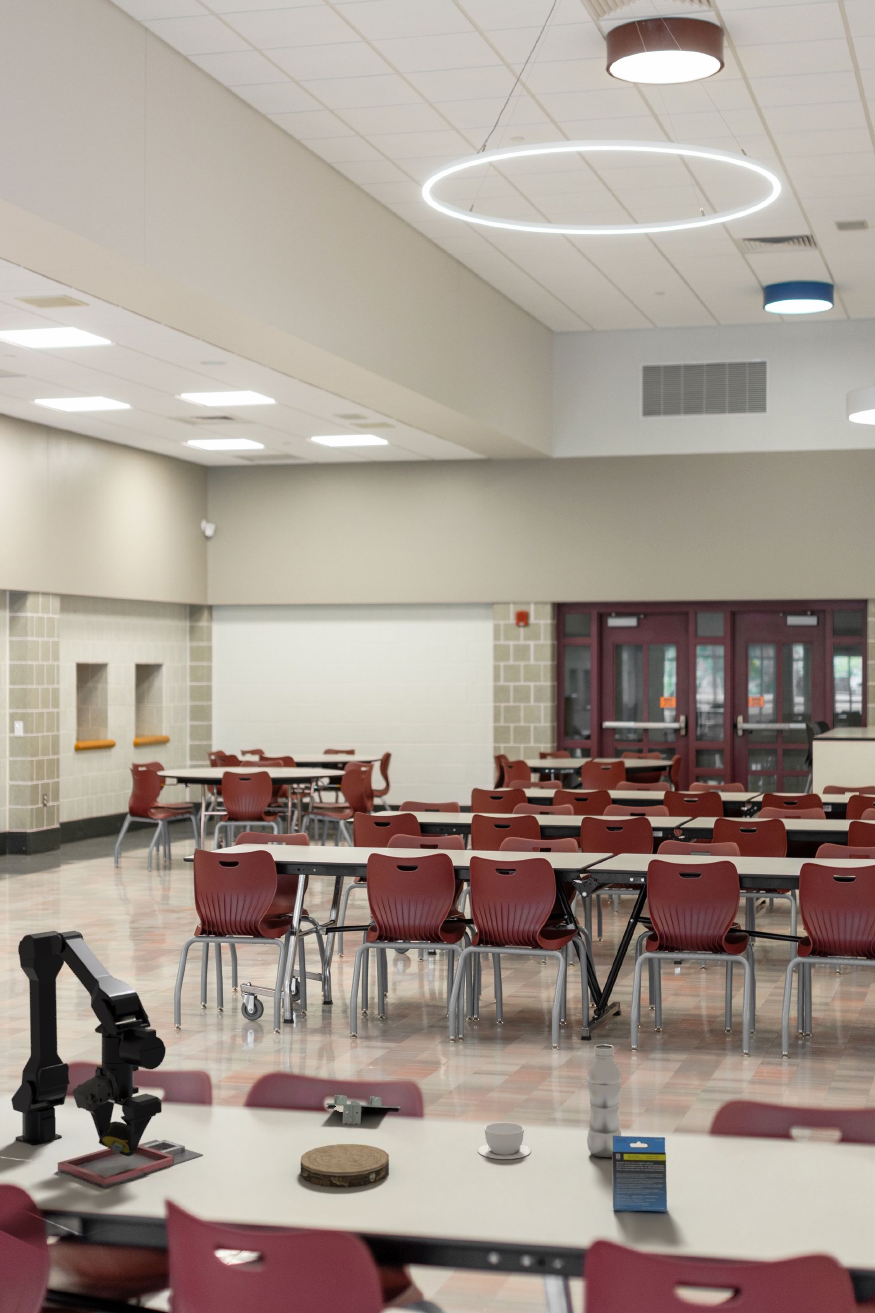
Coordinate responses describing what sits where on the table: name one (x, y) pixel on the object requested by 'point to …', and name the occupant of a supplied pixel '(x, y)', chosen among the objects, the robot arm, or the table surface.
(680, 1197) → the table surface
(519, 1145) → the teacup
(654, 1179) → the label tape cartridge
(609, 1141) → the plastic bottle
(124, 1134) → the tape measure
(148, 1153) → the fitting plate
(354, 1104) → the metal bracket
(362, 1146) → the wood slice
